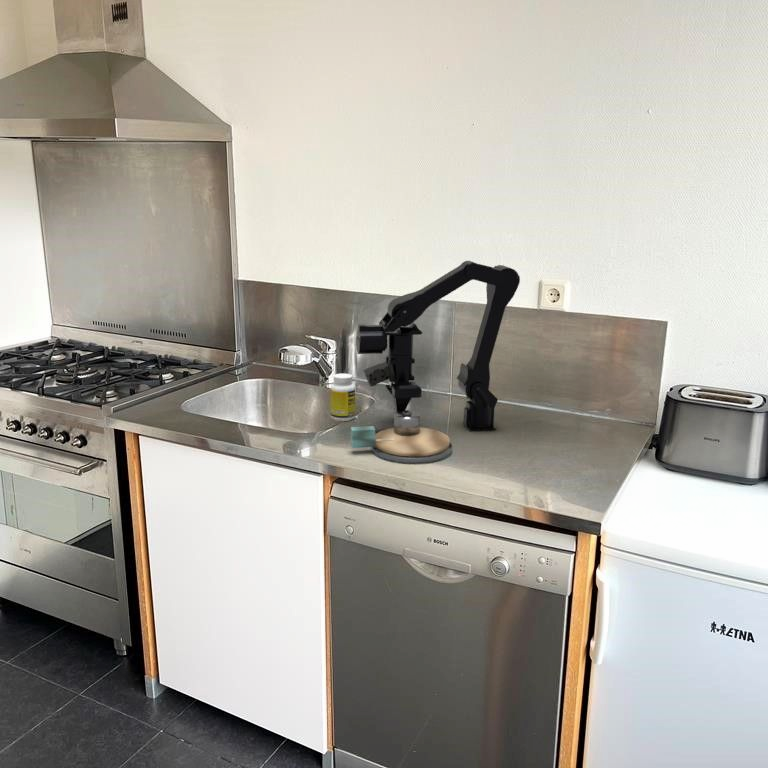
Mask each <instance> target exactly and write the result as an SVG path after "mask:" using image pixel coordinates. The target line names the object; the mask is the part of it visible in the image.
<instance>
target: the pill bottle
mask: <svg viewBox="0 0 768 768" xmlns="http://www.w3.org/2000/svg"><path fill="white" fill-rule="evenodd" d="M352 382H353V375H352V374H350V373H336V374H334V375H333V383H332V384H331V386H330V418H331V419H332V420H333V421H337V422H348V421H352V420H354V419H355V417H356V385H355V384H354V383H352Z"/></svg>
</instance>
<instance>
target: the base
mask: <svg viewBox="0 0 768 768" xmlns="http://www.w3.org/2000/svg"><path fill="white" fill-rule="evenodd" d="M452 449H453V444H452V443H451V442H450V446H449V448H448V449H447V450H445V451H443V452H441V453H439V454H435V455H430V456H420V457H409V456H399V455H393V454H389V453H386V452H383V451H381V450H379V449H377V448H376V447H370V450H371V452H372V454H373V455H375V456H376V457H377V458H379V459H381V460H384V461H388V462H392V463H397V464H405V465H426V464H433V463H437V462H440V461H443V460H445V459H447V458H449V456H450V455H451V454H452V451H453V450H452Z"/></svg>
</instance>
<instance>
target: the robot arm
mask: <svg viewBox="0 0 768 768" xmlns="http://www.w3.org/2000/svg"><path fill="white" fill-rule="evenodd" d="M520 278H521V277H520V275H519V273H518V271H516V269H514V268H511V267H509V266H506V265H501V264H498V265H495V266H493V267H492V266H488V265H484V264H480V263H477V262H474V261H472V260H464V261H463V262H462V263H461V264H460V265H458V266H457V267H455V268H453V269H451V270H450V271H448V272H447V273H445V274H444V275H442V276H440V277H439V278H437V279H436V280H434V281H432V282H431V283H429V284H427V285H426V286H424V287H423V288H421V289H419V290H416V291H413V292H409V293H406V294H403V295H401V296H398V297H396V298H393V299H392V300H391V301H390V302H389V303H388V306H387V308H386V309H387V312H386V313H385V315H384V316H383V317H382V319H380V321H379V322H378V324H362V323H361V324H358V326H357V331H356V337H355V346H356V352H357V355H377V354H383V353H384V352H385V351H386V350H387V349H388V354H387V355H386V356H385V361H383V362H381V363H378V364H375V365H372V366H370V367H367V368H365V369H364V370H363V374H364V376H365V378H366V381H367V383H368V385H369V387H374V386H377V384H380V383H382V382H384V381H388V384H386V385H385V388H386V390H387V391H388V392H389V394H390V395H392V398H393V403H394V409H395V413H397V412H401V411H406V410H407V408H408V405H409V404H410V401H412V399H419V398H421V397H422V388H421V386H420V385H418V383H417V382H416V381H415V375H414V374H413V365H414V364H415V361H416V359H415V357H414V336H418V335H421V336H422V334H423V331H422V330H421V329H419V327H418V326H417V323H415V321H416V320H418V319H419V318H420V317H421V316H422V315H423V314H424V313H425V311H426V310H427V309H428V308H429V307H430V306H432V305H433V304H435V303H437V302H438V301H439V300H441V299H443V298H444V297H446V296H448V295H449V294H452V293H453V292H454V291H456V290H458V289H459V288H461V287H462V286H464V285H466V284H468V283H469V282H471V281H473V280H474V281H477V282H482V283H484V284H486V305H485V308H484V312H483V315H482V319H481V323H480V326H479V330H478V333H477V337H476V339H475V344H474V348H473V351H472V354H471V358H470V359H469V361H468V362H467V363H466V364H465V363H461V364H460V367H459V369H460V370H459V374H458V375H457V377H456V380H457V381H458V387H459V389H460V391H461V392H462V393H463V394H464V395H465V397H466V399H468V400H467V401H466V403H465V404H466V405H465V406H466V407H464V408H463V424H464V426H465V427H466V428H467V429H468V430H469V431H470V432H477V431H478V432H479V431H480V432H481V431H496V430H497V427H496V426H495V421H494V420H495V407H496V405H497V404H498V400H499V399H498V398H497V397H496V395H494V394H493V393H492V392H491V391H490V390H489V389H490V383H491V373H490V372H491V370H490V363H491V361H492V356H493V352H494V349H495V346H496V342H497V340H498V339H497V338H498V335H499V331H500V328H501V324H502V321H503V317H504V314H505V311H506V308H507V306H508V305H509V303H510V302H511V301H512V299H513V298H514V296H515V294H516V292H517V289H518V288H519V286H520V283H521V282H520V281H521V279H520Z"/></svg>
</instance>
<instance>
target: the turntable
mask: <svg viewBox="0 0 768 768" xmlns="http://www.w3.org/2000/svg"><path fill="white" fill-rule="evenodd" d="M450 443H451V439H450V437H449V436H448V435H447V434H446V433H444V432H442V431H439V430H437V429H432V428H428V427H427V428H426V427H421V426H420V433H419V434H417V435H414V436H401V435H397V434H395V433H394V427H390V428H387V429H383V430H381V431H378V432H377V433H376V429H375V426H373V425H370V426H369V425H367V426H351V427H350V446H351V449H358V448H359V449H361V448H363V449H364V448H371V447H376V448H377V449H379V450H381V451H383V452H386V453H389V454H393V455H399V456H409V457H420V456H430V455H435V454H439V453H441V452H443V451H445V450H447V449H448V448H449V446H450Z"/></svg>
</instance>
